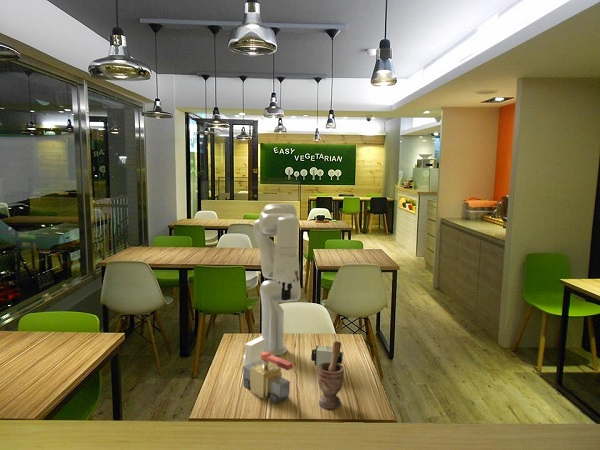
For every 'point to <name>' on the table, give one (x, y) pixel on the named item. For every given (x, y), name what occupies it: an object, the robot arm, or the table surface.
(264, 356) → the lever
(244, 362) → the cylinder with rectangular tab
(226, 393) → the table surface
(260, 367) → the valve pipe
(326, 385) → the mortar and pestle
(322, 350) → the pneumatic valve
